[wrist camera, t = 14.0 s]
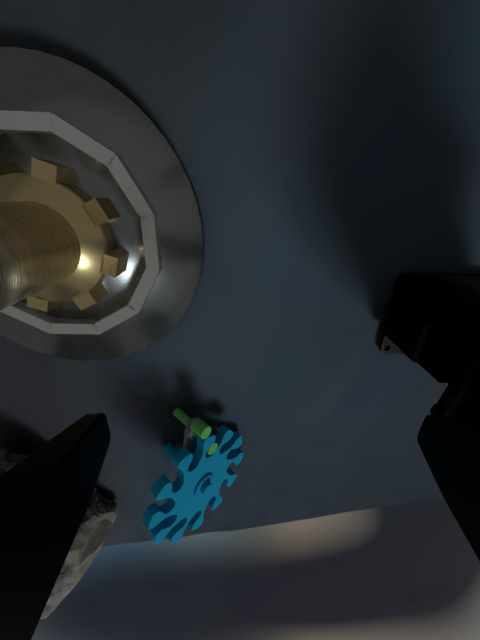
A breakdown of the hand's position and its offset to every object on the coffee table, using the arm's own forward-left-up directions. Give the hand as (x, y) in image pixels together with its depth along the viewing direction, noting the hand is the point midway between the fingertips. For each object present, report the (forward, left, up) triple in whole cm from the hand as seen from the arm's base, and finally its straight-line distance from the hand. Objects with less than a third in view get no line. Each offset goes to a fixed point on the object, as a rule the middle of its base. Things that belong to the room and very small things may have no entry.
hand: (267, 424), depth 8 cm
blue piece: (+3, +16, -13) cm, 21 cm away
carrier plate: (+12, -3, -13) cm, 18 cm away
